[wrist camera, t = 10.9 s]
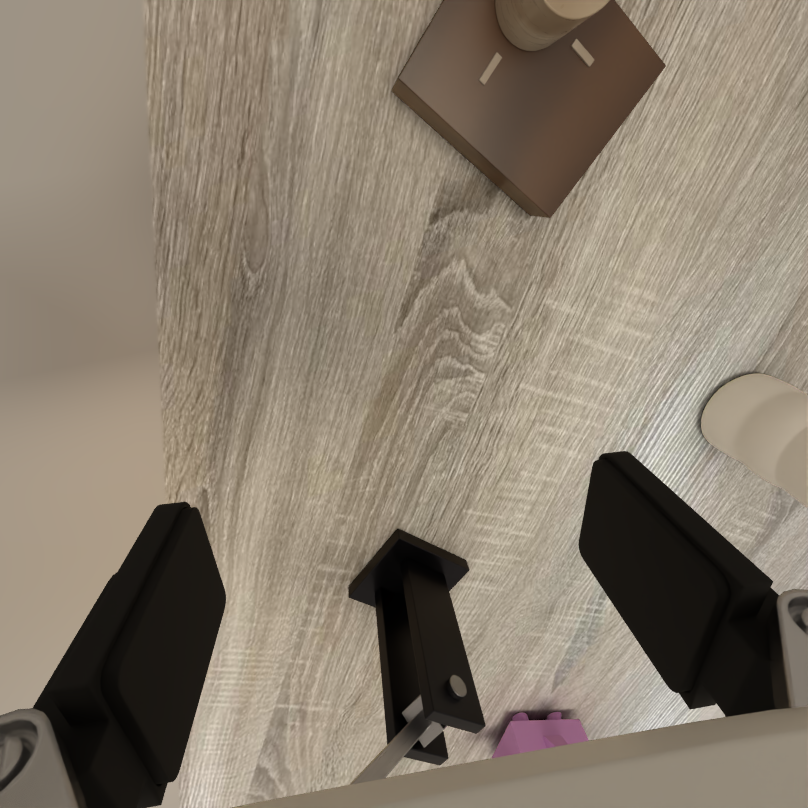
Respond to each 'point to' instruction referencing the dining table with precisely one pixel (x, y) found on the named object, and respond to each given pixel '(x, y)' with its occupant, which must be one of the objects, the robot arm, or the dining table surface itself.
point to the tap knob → (542, 20)
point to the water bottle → (762, 429)
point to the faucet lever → (402, 743)
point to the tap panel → (527, 96)
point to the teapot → (539, 734)
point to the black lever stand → (420, 639)
